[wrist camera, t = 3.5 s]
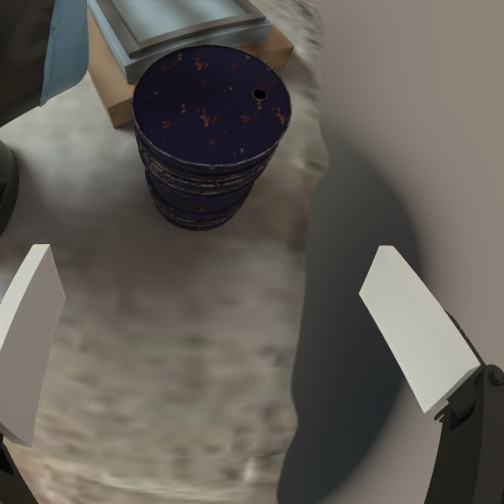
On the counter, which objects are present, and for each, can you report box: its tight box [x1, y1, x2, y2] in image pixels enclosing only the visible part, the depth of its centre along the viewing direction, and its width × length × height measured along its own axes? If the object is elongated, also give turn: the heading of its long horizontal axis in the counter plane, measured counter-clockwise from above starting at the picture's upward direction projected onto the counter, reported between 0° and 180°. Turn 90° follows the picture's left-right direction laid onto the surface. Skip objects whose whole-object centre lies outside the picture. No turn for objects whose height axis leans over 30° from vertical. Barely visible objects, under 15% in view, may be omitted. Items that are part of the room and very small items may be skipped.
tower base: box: [87, 0, 294, 128], centre depth 29 cm, size 24×22×8 cm
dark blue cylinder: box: [132, 44, 292, 231], centre depth 23 cm, size 10×10×15 cm
